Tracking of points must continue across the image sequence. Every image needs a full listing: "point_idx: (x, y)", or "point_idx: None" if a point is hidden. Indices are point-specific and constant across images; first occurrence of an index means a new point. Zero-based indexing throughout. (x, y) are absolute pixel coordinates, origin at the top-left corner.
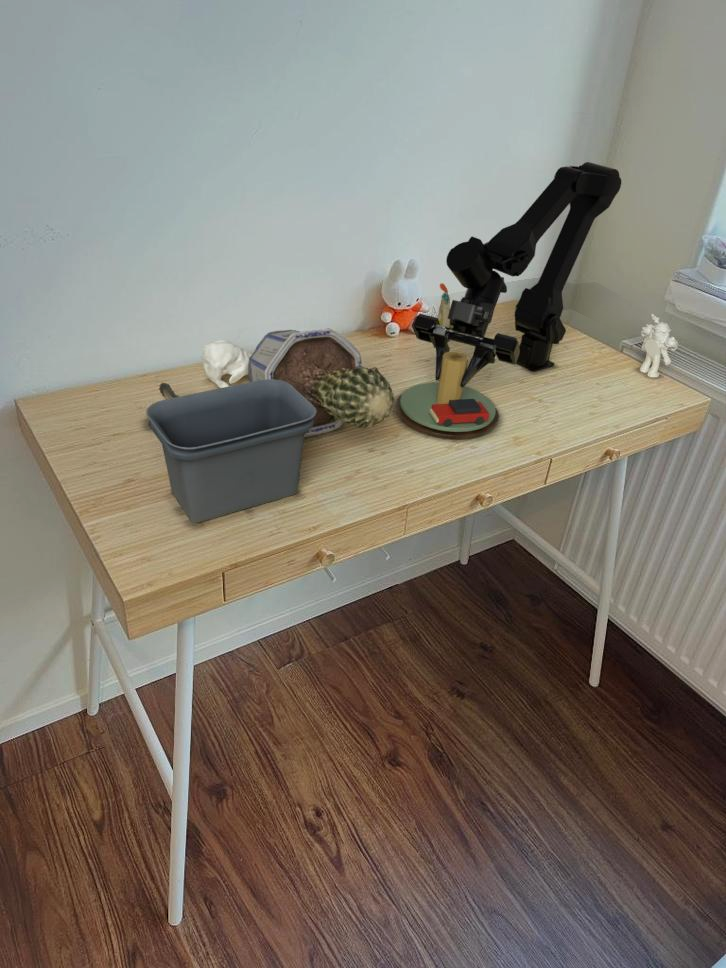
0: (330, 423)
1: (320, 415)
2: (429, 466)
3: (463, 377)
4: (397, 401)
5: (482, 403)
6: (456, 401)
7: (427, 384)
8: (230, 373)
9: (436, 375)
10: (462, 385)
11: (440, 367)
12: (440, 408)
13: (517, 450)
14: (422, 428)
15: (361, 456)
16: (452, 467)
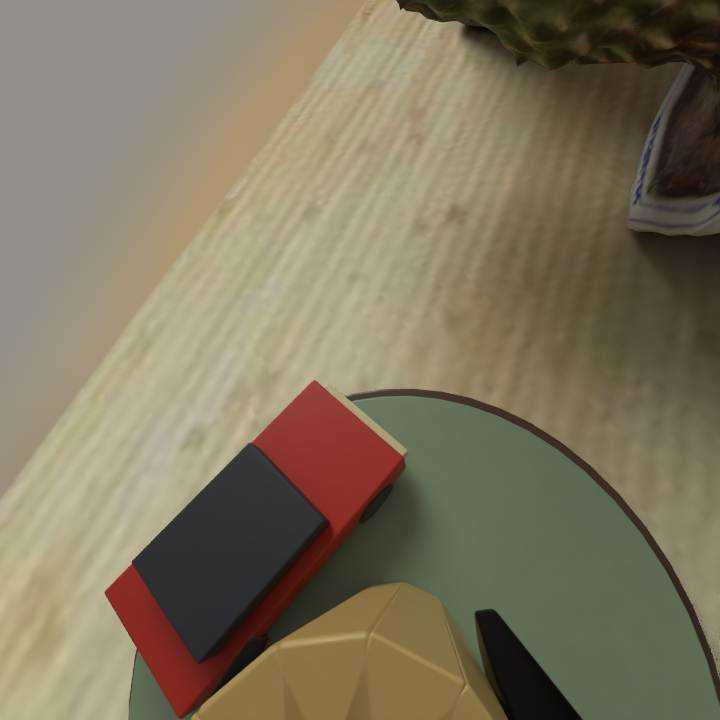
0: (649, 183)
1: (691, 134)
2: (277, 259)
3: None
4: (647, 536)
5: None
6: (281, 534)
7: None
8: None
9: (496, 623)
10: (250, 641)
11: (511, 709)
12: (346, 450)
13: (38, 537)
14: (393, 393)
15: (455, 180)
16: (219, 296)
